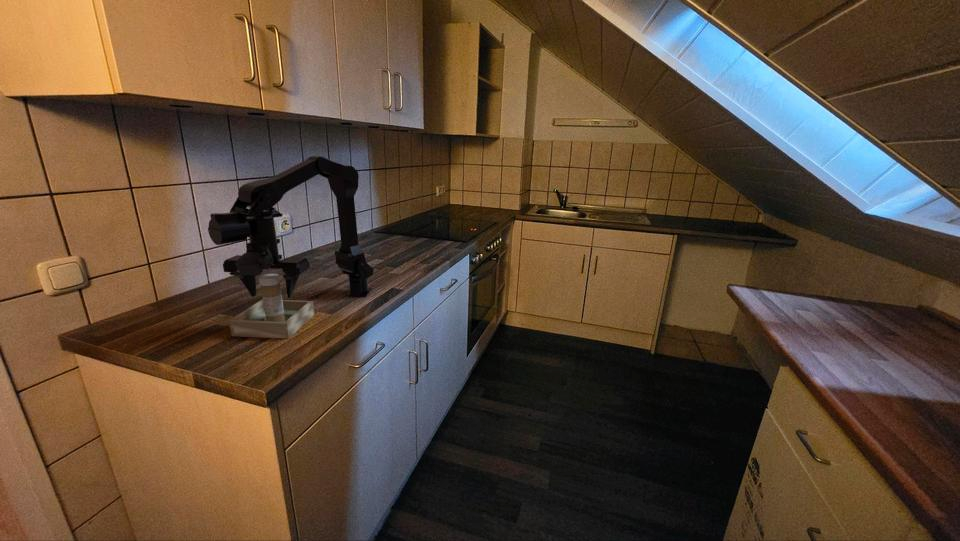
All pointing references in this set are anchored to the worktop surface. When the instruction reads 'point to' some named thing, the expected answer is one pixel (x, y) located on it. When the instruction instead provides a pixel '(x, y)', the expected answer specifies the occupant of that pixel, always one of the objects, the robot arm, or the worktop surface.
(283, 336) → the peg box
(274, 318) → the sprinkles bottle
